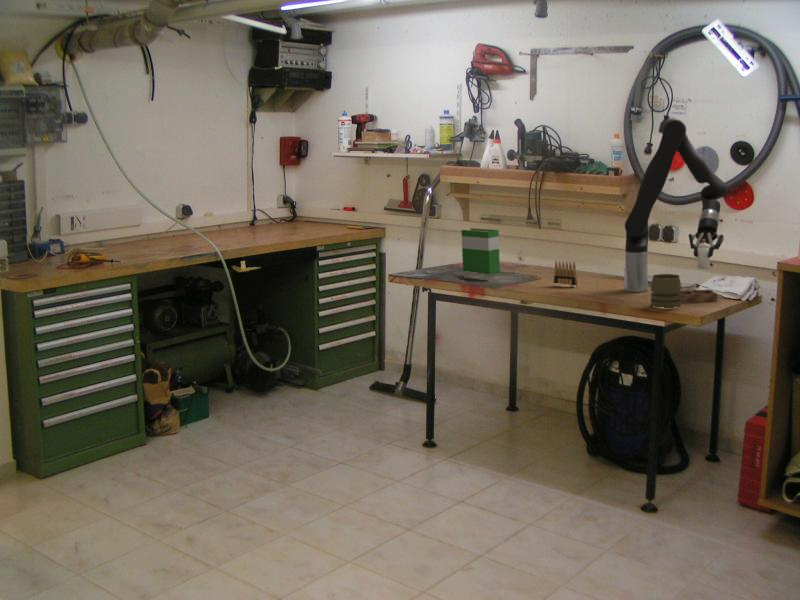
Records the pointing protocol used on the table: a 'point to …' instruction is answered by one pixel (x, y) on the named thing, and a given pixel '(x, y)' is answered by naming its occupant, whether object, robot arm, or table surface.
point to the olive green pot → (666, 291)
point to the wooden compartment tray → (698, 296)
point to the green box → (480, 251)
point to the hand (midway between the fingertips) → (702, 256)
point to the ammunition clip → (565, 273)
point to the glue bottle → (703, 256)
